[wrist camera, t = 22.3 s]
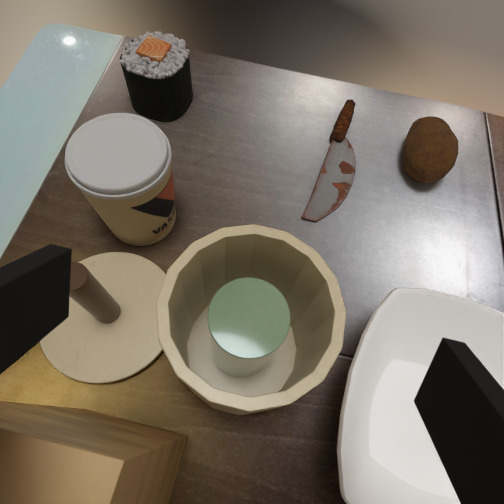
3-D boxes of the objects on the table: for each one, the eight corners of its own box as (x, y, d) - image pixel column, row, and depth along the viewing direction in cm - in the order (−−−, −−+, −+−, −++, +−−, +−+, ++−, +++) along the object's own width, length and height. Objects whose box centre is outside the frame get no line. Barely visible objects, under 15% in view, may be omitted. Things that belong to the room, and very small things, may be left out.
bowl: (350, 292, 41) (381, 261, 33) (533, 366, 39) (611, 353, 31) (288, 493, 32) (310, 516, 24) (520, 604, 30) (623, 667, 22)
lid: (17, 365, 35) (-67, 341, 25) (77, 244, 41) (30, 185, 31) (152, 399, 34) (123, 390, 24) (193, 272, 40) (184, 222, 30)
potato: (438, 140, 52) (464, 105, 46) (447, 196, 48) (478, 166, 42) (393, 134, 52) (414, 99, 46) (398, 190, 47) (422, 159, 42)
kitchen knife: (338, 230, 43) (300, 213, 43) (332, 235, 45) (296, 219, 45) (379, 109, 52) (347, 95, 51) (373, 117, 53) (342, 103, 53)
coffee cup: (168, 261, 41) (149, 203, 30) (89, 242, 41) (41, 177, 30) (192, 194, 45) (183, 122, 34) (120, 177, 45) (88, 100, 34)
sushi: (123, 111, 50) (106, 58, 42) (150, 73, 53) (139, 18, 46) (177, 129, 49) (169, 78, 42) (201, 89, 53) (198, 37, 45)
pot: (163, 396, 35) (127, 380, 22) (200, 278, 40) (189, 208, 27) (290, 428, 34) (332, 433, 21) (310, 305, 40) (354, 247, 27)
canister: (204, 370, 35) (196, 347, 25) (220, 312, 38) (219, 268, 27) (263, 384, 35) (282, 368, 24) (275, 326, 38) (297, 287, 27)
